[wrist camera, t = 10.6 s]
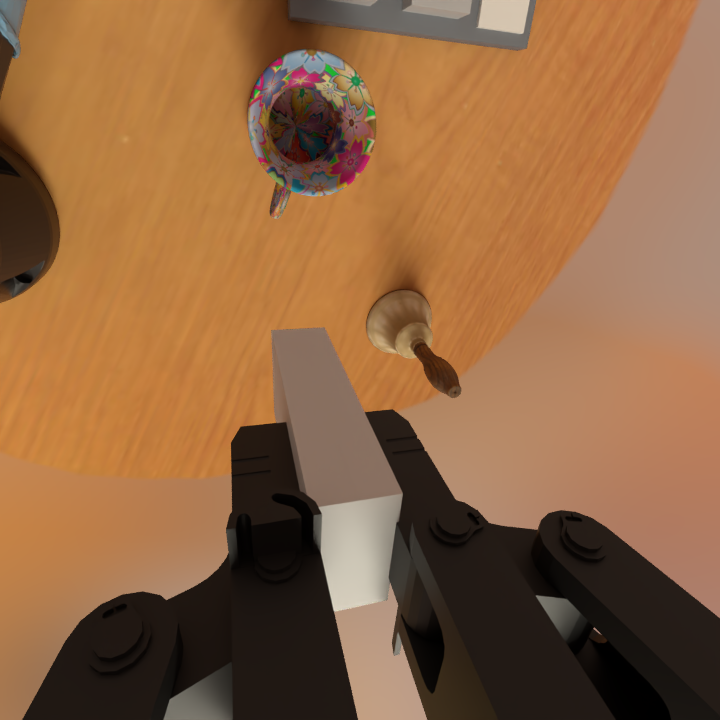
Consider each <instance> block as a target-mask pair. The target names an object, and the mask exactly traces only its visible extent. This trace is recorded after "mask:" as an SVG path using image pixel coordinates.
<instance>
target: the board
mask: <svg viewBox="0 0 720 720" xmlns="http://www.w3.org/2000/svg"><path fill="white" fill-rule="evenodd" d="M535 4H536V0H288V20H291V21H299V22H306V23H314V24H321V25H329V26H336V27H344V28H351V29H359V30H367V31H374V32H382V33H389V34H397V35H404V36H412V37H419V38H427V39H434V40H442V41H449V42H457V43H465V44H472V45H480V46H487V47H495V48H502V49H510V50H517V51H518V50H522V49H526V48H527V44H528V39H529V34H530V29H531V24H532V19H533V14H534V9H535Z"/></svg>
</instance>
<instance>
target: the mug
mask: <svg viewBox="0 0 720 720" xmlns="http://www.w3.org/2000/svg"><path fill="white" fill-rule="evenodd" d="M248 131H249V137H250V141H251V144H252V147H253V150H254V152H255V154H256V157H257V159H258V160H259V162H260V164H261V165H262V167H263V168H264V169H265V171H266V172H267V173H268V174H269V175H270V176H271V177H272V178H273V179H274V180H275V181H276V185H275V189H274V193H273V197H272V201H271V206H270V216H271V217H273V218H275V219H279V218H280V217H281V215H282V213H283V211H284V209H285V207H286V204H287V202H288V199H289V196H290V193H291V191H293V192H295V193H298V194H302V195H307V196H323V195H328V194H332V193H335V192H337V191H339V190H341V189H343V188H345V187H346V186H348V185H349V184H351V183H352V182H353V181H354V180H355V179H356V178H357V177H358V176H359V175H360V173H361V172H362V171H363V169H364V168H365V166H366V164H367V163H368V161H369V159H370V156H371V153H372V150H373V147H374V143H375V137H376V116H375V109H374V105H373V102H372V98H371V96H370V93H369V91H368V89H367V87H366V85H365V83H364V82H363V80H362V79H361V77H360V76H359V75H358V73H357V72H356V71H355V70H354V69H353V68H352V67H351V66H350V65H349V64H348V63H346V62H345V61H344V60H342V59H341V58H339V57H337V56H336V55H333V54H331V53H329V52H325V51H322V50H317V49H301V50H295V51H292V52H289V53H287V54H285V55H282V56H281V57H279V58H278V59H276V60H275V61H274V62H272V63H271V64H270V65H269V66H268V67H267V68H266V69H265V70H264V72H263V73H262V74H261V76H260V77H259V79H258V80H257V82H256V84H255V86H254V89H253V91H252V94H251V97H250V101H249V107H248Z"/></svg>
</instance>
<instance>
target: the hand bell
mask: <svg viewBox="0 0 720 720" xmlns="http://www.w3.org/2000/svg"><path fill="white" fill-rule="evenodd" d="M431 320H432V314H431V309H430V306H429V304H428V302H427V301H426V299H425V298H424V297H423V296H421V295H420V294H418V293H416V292H414V291H410V290H399V291H394V292H391V293H389V294H387V295H385V296H383V297H382V298H381V299H379V300H378V301H377V302H376V304H375V305H374V306H373V307H372V309H371V311H370V313H369V315H368V318H367V325H366V328H367V334H368V337H369V339H370V341H371V342H372V344H373V345H374V346H375V347H377V348H378V349H379V350H381V351H384V352H387V353H399V354H400V355H401V356H403V357H406V358H416V357H417V358H418V359H419V360H420V361H421V362H422V364H423V366H424V371H425V374H426V376H427V378H428V380H429V381H430V383H431V384H432V385H433V387H434V388H436V389H437V390H439V391H440V392H442V393H445V394H447V395H448V396H450V397H451V398H456V397H458V396H459V395H460V394H461V387H460V385H459V380H458V376H457V374H456V372H455V370H454V369H453V367H452V366H451V365H450V364H449V363H448V362H447V361H445V360H444V359H442V358H441V357H438V356H436V355H434V354H433V352H432V351H431V350H430V346H431V343H432V339H433V335H432V331H431V329H430V326H431Z"/></svg>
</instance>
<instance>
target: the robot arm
mask: <svg viewBox="0 0 720 720" xmlns="http://www.w3.org/2000/svg"><path fill="white" fill-rule="evenodd" d="M26 2H27V0H0V98H1V94H2V91H3V87H4V84H5V80H6V77H7V73H8V70H9V66H10V63H11V59H12V57H13V58H18V57H19V55H20V52H21V48H20V42H19V39H18V37H19V32H20V28H21V24H22V19H23V15H24V11H25V6H26ZM59 238H60V231H59V221H58V217H57V213H56V209H55V207H54V204H53V201H52V199H51V197H50V195H49V193H48V191H47V189H46V187H45V186H44V184H43V183H42V181H41V180H40V178H39V177H38V176H37V174H36V173H35V172H34V170H33V169H32V168H31V167H30V166H29V165H28V164H27V163H26V161H25V160H24V159H23V158H22V157H20V156H19V155H18V154H17V153H16V152H15V151H14V150H13V149H11V148H10V147H9V146H8V145H6V144H5V143H4V142H2V141H1V140H0V303H1V302H4V301H7V300H10V299H12V298H14V297H17V296H18V295H20V294H22V293H24V292H25V291H27V290H28V289H29V288H31V287H32V286H33V285H34V284H35V283H37V282H38V281H39V280H40V279H41V278H42V277H43V276H44V275H45V274H46V273H47V271H48V270H49V269H50V267H51V265H52V264H53V262H54V259H55V257H56V254H57V251H58V247H59ZM271 331H272V359H273V387H274V412H275V418H276V423H272V424H263V425H253V426H244V427H240V429H239V430H238V432H237V434H236V435H235V437H234V439H233V440H232V442H231V462H232V464H231V467H232V513H231V514H230V516H229V520H228V524H227V528H226V533H227V542H228V551H229V553H228V555H227V558H226V559H225V561H224V562H223V563H222V565H221V566H220V567H219V569H218V570H217V571H215V572H214V573H213V574H212V575H211V576H210V577H209V578H207V579H206V580H204V581H203V582H201V583H199V584H198V585H196V586H194V587H193V588H191V589H189V590H187V591H185V592H183V593H181V594H178V595H177V596H174V597H172V598H170V599H168V600H165V599H164V598H163V597H162V596H160V595H157V594H152V593H147V592H137V593H130V594H124V595H121V596H118V597H116V598H114V599H112V600H110V601H108V602H106V603H103V604H101V605H100V606H98V607H97V608H96V609H95V610H93V611H92V612H91V613H90V614H88V615H87V616H86V617H85V618H84V619H82V620H81V621H80V622H79V624H78V625H77V626H76V628H75V629H74V630H73V632H72V633H71V634H70V636H69V637H68V638H67V640H66V641H65V643H64V645H63V647H62V649H61V650H60V652H59V654H58V656H57V657H56V659H55V661H54V663H53V665H52V666H51V668H50V670H49V672H48V674H47V676H46V677H45V679H44V681H43V683H42V685H41V687H40V688H39V690H38V692H37V694H36V696H35V698H34V700H33V701H32V703H31V705H30V707H29V709H28V710H27V712H26V714H25V716H24V718H23V720H358V718H357V713H356V708H355V704H354V700H353V695H352V690H351V686H350V682H349V677H348V672H347V668H346V663H345V659H344V655H343V650H342V646H341V642H340V637H339V632H338V628H337V623H336V619H335V614H334V612H335V611H340V610H344V609H349V608H354V607H358V606H363V605H367V604H372V603H376V602H380V601H385V600H387V599H388V591H389V584H390V583H391V586H392V589H393V591H394V594H395V597H396V600H397V602H398V610H397V616H396V622H395V628H394V634H393V639H392V646H393V654H394V656H395V655H398V654H400V648H401V643H402V645H403V648H404V651H405V654H406V657H407V660H408V663H409V666H410V669H411V672H412V675H413V678H414V681H415V684H416V687H417V690H418V693H419V696H420V699H421V702H422V705H423V708H424V711H425V714H426V717H427V720H720V618H719V617H717V616H716V615H715V614H714V613H713V612H711V611H710V610H709V609H708V608H706V607H705V606H704V605H703V604H701V603H700V602H699V601H698V600H696V599H695V598H694V597H693V596H691V595H690V594H689V593H688V592H686V591H685V590H684V589H683V588H681V587H680V586H679V585H678V584H676V583H675V582H674V581H673V580H671V579H670V578H669V577H668V576H666V575H665V574H664V573H663V572H661V571H660V570H659V569H658V568H656V567H655V566H654V565H653V564H652V563H650V562H649V561H648V560H647V559H645V558H644V557H643V556H642V555H640V554H639V553H638V552H637V551H635V550H634V549H633V548H631V547H630V546H629V545H628V544H627V543H625V542H624V541H623V540H622V539H620V538H619V537H618V536H617V535H615V534H614V533H613V532H612V531H610V530H609V529H608V528H607V527H605V526H603V525H602V524H600V523H599V522H597V521H596V520H594V519H593V518H591V517H588V516H585V515H582V514H580V513H577V512H571V511H562V510H561V511H556V512H552V513H549V514H547V515H546V516H545V517H544V518H543V519H542V520H541V522H540V525H539V527H538V530H534V529H525V528H516V527H507V526H500V525H495V524H491V523H488V521H487V520H486V519H485V518H484V517H483V516H482V515H481V514H480V513H479V511H478V510H476V509H474V508H473V507H471V506H469V505H468V504H466V503H464V502H460V501H457V500H456V499H455V498H454V496H453V495H452V493H451V492H450V490H449V488H448V487H447V485H446V483H445V482H444V480H443V478H442V477H441V475H440V473H439V472H438V470H437V468H436V467H435V465H434V463H433V462H432V460H431V458H430V457H429V455H428V453H427V452H426V451H425V450H424V447H423V445H422V443H421V442H420V440H419V439H417V435H416V433H415V432H414V430H413V428H412V427H411V425H410V423H409V422H408V421H407V420H406V419H404V418H403V417H402V416H400V415H399V414H398V413H397V412H395V411H394V410H393V409H392V410H382V411H373V412H364V410H363V408H362V406H361V404H360V402H359V400H358V397H357V395H356V393H355V391H354V389H353V387H352V385H351V383H350V381H349V378H348V376H347V374H346V372H345V370H344V368H343V366H342V364H341V361H340V359H339V357H338V355H337V353H336V351H335V349H334V347H333V345H332V342H331V340H330V338H329V336H328V334H327V332H326V330H325V328H305V329H285V330H271ZM594 627H595V628H596V629H597V630H598V631H599V632H600V633H601V634H602V635H601V634H599V633H598V632H596V631H595V630H594V629H593V628H594Z"/></svg>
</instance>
